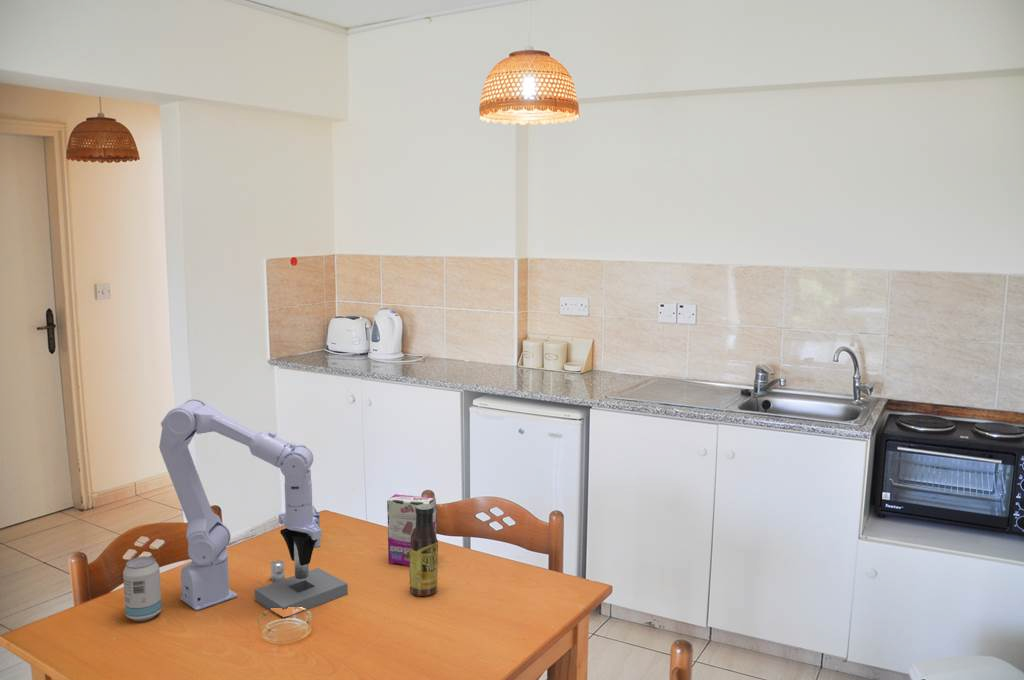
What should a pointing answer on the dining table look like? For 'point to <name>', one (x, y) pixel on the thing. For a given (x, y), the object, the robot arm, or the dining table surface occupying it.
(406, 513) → the candy bar box
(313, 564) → the dining table surface
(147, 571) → the beverage can
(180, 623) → the dining table surface
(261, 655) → the dining table surface
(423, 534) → the sauce bottle
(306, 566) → the tall pin
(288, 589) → the hole board
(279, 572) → the short pin
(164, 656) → the dining table surface
